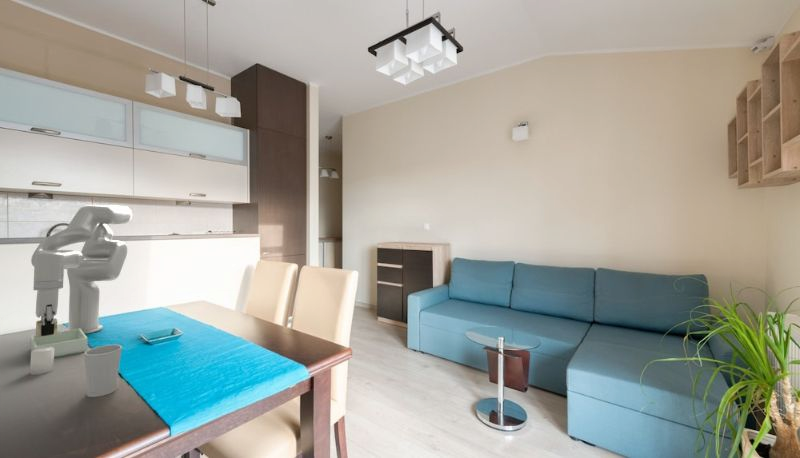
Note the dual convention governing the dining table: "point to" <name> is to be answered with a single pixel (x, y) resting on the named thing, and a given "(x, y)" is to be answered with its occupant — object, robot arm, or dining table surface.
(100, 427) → the dining table surface
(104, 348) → the cup
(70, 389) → the dining table surface
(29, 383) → the dining table surface
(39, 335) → the beech cube
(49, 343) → the tote
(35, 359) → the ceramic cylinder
